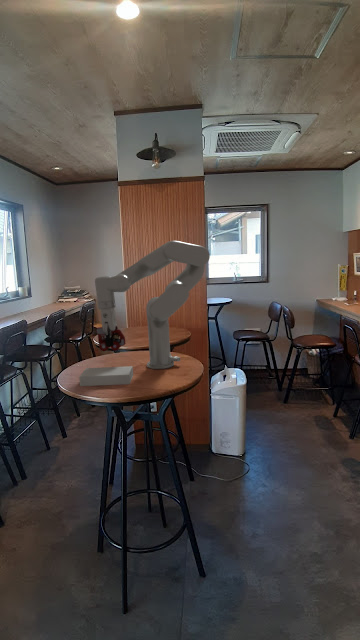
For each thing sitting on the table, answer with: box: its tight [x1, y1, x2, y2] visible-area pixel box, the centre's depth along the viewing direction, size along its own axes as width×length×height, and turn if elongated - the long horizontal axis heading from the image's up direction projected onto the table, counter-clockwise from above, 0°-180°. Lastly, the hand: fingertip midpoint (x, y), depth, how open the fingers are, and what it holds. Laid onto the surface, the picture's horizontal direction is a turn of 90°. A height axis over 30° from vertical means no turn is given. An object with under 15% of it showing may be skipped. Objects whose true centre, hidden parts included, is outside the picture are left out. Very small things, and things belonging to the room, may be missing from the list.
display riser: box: [78, 365, 134, 387], centre depth 153 cm, size 20×11×4 cm, turn 90°
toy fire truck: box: [95, 325, 126, 352], centre depth 165 cm, size 7×12×10 cm, turn 83°
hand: (111, 343), depth 165 cm, fingers closed on toy fire truck, 7 cm apart
